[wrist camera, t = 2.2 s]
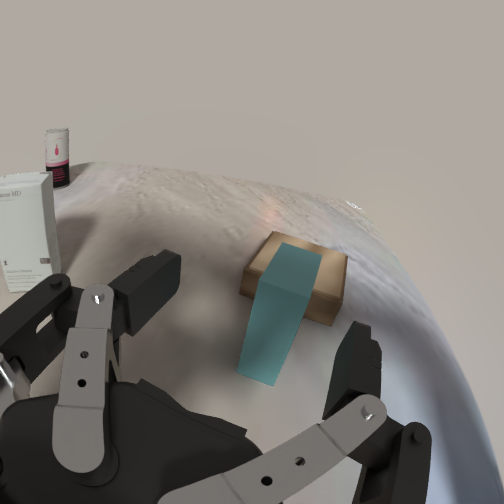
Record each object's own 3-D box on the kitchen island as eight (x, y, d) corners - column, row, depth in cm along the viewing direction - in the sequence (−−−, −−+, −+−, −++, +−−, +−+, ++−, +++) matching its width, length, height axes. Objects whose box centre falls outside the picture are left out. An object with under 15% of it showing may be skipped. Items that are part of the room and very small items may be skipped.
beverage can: (71, 180, 64) (71, 126, 56) (66, 189, 58) (65, 130, 51) (51, 182, 61) (49, 128, 53) (44, 190, 56) (41, 132, 48)
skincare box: (9, 294, 27) (-18, 190, 20) (19, 268, 32) (0, 174, 24) (60, 291, 31) (40, 182, 23) (65, 265, 36) (52, 167, 28)
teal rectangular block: (290, 341, 32) (322, 255, 26) (273, 386, 26) (310, 298, 20) (258, 329, 33) (282, 241, 27) (236, 372, 27) (258, 280, 21)
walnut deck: (339, 276, 46) (348, 254, 44) (331, 326, 35) (343, 301, 33) (267, 251, 49) (273, 229, 47) (239, 293, 38) (244, 266, 36)
